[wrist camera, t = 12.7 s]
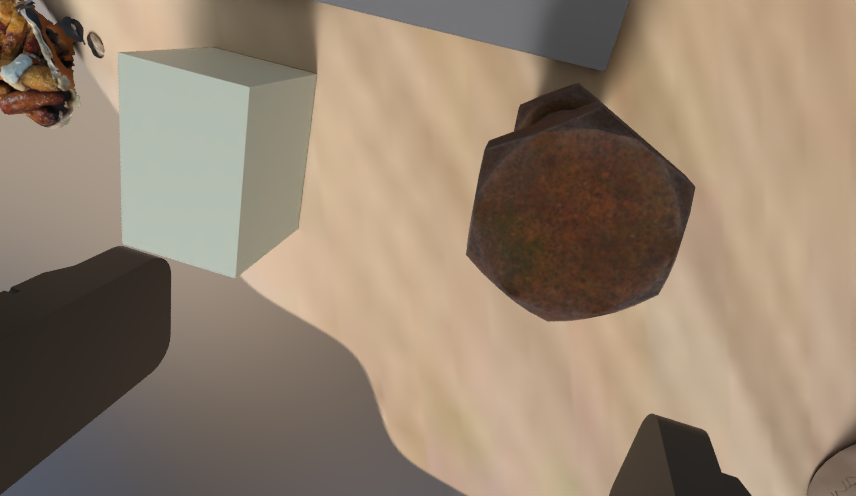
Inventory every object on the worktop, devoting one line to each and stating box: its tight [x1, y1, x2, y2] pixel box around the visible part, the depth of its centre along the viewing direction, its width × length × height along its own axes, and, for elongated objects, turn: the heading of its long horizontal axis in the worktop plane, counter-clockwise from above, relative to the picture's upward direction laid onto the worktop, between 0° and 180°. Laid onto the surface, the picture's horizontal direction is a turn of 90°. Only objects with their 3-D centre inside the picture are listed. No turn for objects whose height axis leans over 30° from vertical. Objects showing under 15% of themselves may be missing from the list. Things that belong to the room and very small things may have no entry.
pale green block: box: [118, 47, 317, 278], centre depth 27 cm, size 6×9×7 cm, turn 168°
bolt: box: [466, 83, 695, 321], centre depth 20 cm, size 6×5×15 cm
